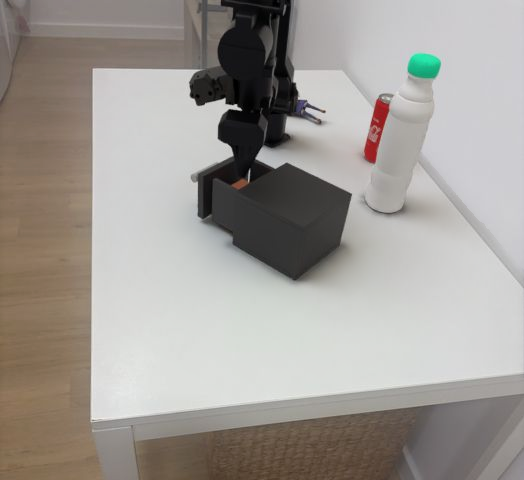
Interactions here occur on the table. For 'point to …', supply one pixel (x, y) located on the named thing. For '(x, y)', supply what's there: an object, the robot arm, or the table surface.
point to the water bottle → (403, 135)
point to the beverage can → (377, 126)
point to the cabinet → (289, 219)
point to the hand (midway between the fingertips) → (246, 161)
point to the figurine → (303, 104)
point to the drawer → (222, 189)
